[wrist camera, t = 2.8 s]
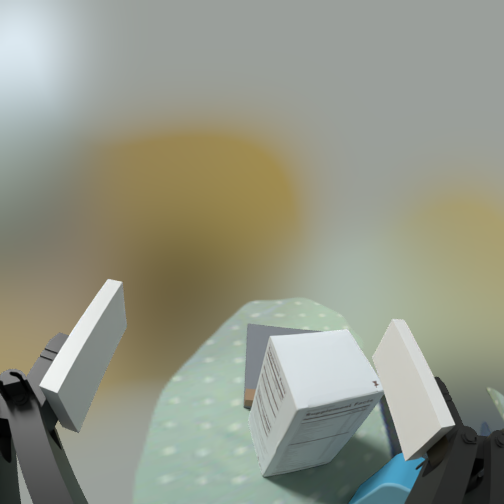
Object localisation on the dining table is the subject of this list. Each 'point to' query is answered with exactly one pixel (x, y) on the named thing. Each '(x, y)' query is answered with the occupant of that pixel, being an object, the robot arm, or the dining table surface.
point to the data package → (389, 483)
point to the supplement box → (310, 399)
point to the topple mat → (260, 354)
